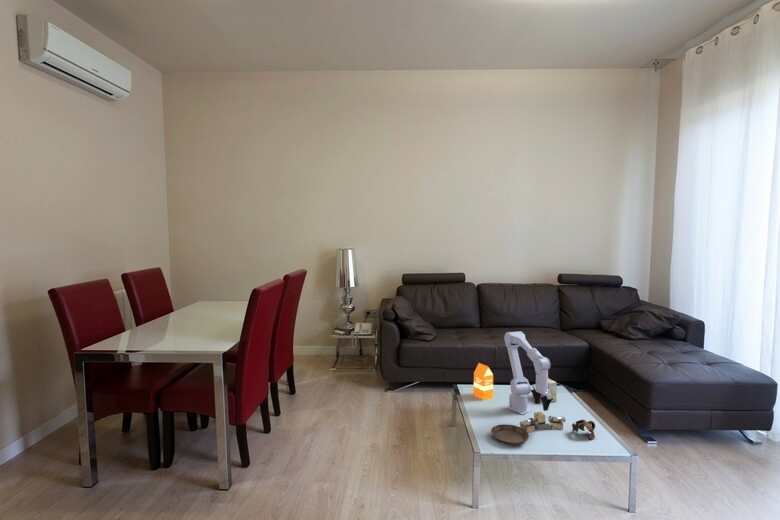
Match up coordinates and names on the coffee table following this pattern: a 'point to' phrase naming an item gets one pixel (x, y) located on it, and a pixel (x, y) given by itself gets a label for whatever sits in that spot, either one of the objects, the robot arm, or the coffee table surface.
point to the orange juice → (483, 382)
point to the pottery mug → (589, 425)
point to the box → (552, 389)
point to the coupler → (539, 418)
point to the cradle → (541, 426)
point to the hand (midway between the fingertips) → (541, 407)
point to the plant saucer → (510, 434)
